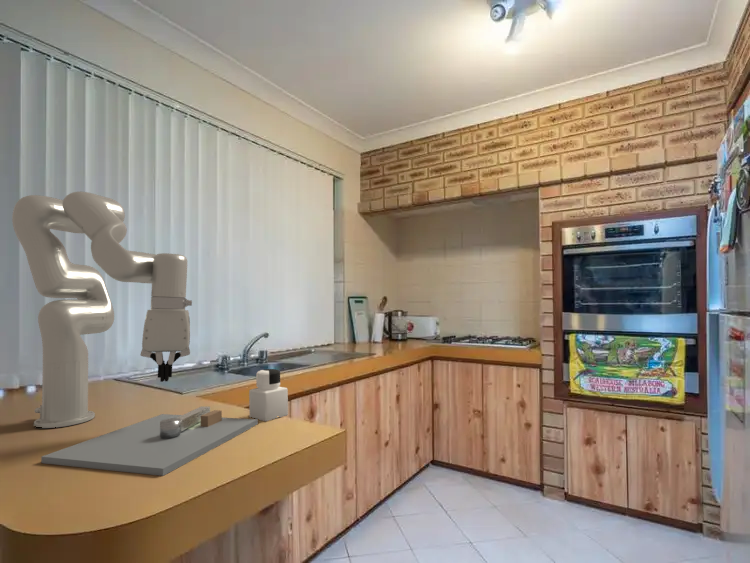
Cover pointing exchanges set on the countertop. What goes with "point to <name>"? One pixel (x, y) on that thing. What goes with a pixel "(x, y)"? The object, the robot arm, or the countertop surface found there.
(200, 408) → the swing bar
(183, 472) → the countertop surface
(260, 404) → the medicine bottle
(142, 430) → the latch plate
